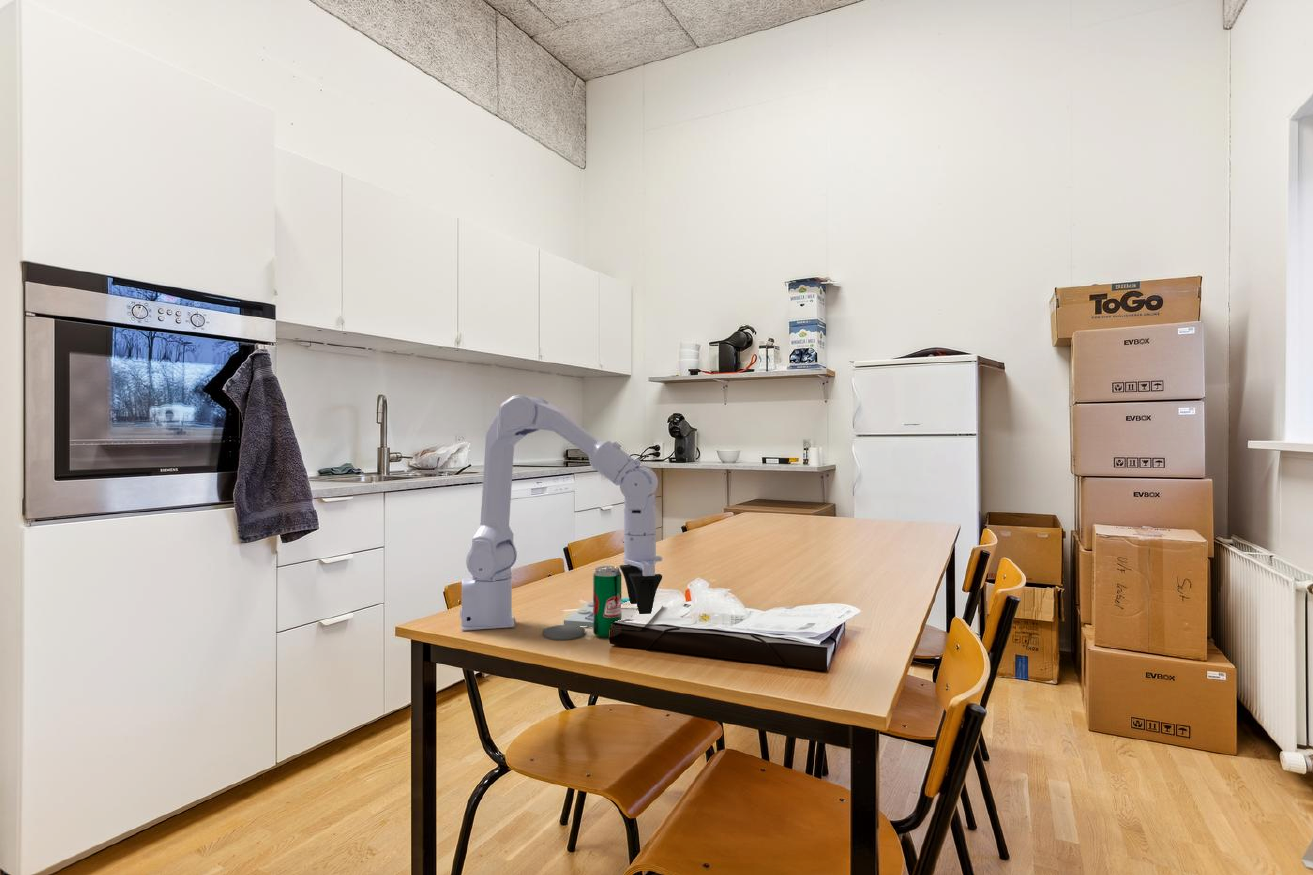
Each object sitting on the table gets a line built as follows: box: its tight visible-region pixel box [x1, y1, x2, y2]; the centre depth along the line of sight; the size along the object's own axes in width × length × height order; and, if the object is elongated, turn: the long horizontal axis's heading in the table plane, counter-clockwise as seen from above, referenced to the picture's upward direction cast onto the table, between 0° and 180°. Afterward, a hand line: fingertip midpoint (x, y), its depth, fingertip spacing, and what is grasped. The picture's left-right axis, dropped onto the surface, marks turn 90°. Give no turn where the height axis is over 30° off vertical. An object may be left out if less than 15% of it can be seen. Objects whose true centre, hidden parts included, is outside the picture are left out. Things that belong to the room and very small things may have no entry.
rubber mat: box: [542, 624, 586, 641], centre depth 124 cm, size 8×8×1 cm
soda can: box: [592, 565, 622, 639], centre depth 123 cm, size 5×5×12 cm
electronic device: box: [563, 597, 629, 627], centre depth 136 cm, size 18×2×15 cm
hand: (640, 608), depth 124 cm, fingers open, 7 cm apart
